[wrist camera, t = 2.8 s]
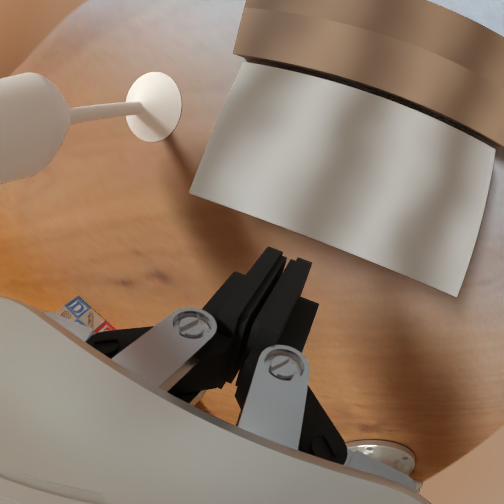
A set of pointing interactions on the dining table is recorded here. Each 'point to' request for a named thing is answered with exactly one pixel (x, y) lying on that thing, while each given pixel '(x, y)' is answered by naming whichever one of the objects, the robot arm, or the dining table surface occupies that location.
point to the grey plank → (349, 172)
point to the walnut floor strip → (388, 52)
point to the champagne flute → (73, 118)
